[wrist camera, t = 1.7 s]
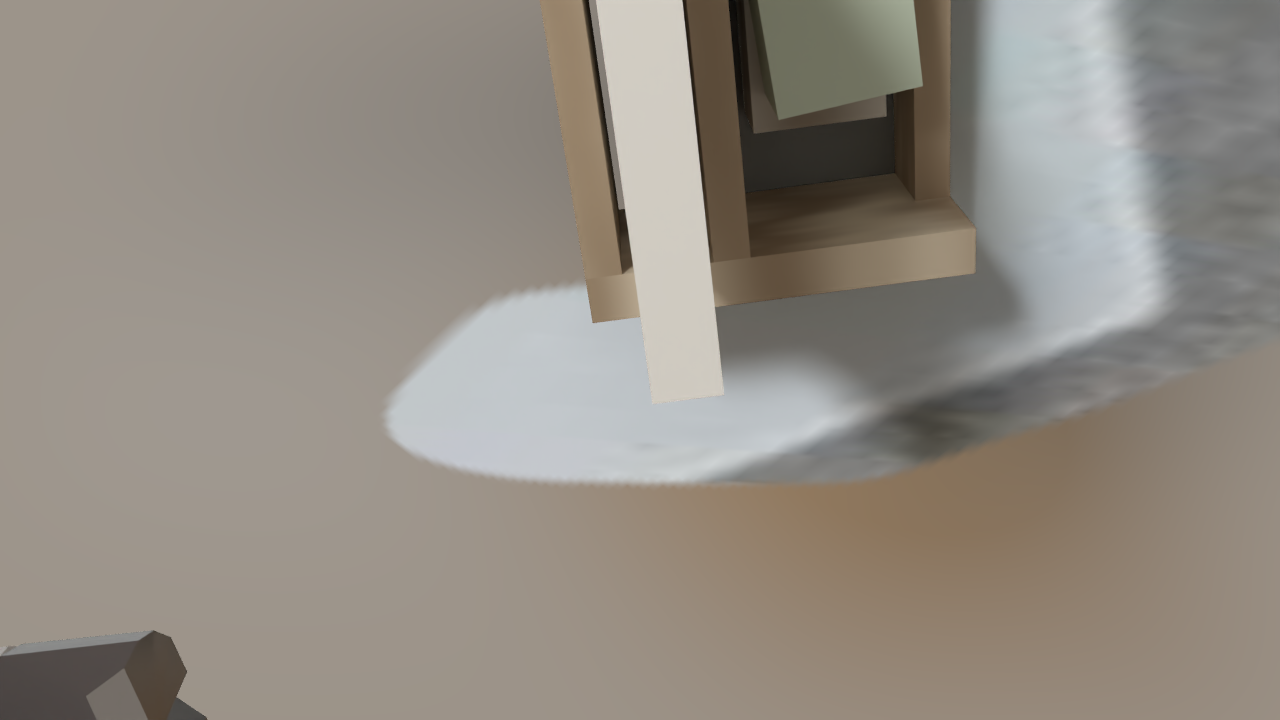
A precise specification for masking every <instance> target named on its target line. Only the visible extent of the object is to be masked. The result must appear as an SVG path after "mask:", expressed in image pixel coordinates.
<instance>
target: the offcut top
mask: <svg viewBox="0 0 1280 720" xmlns="http://www.w3.org/2000/svg"><path fill="white" fill-rule="evenodd" d="M748 1H749V6H750V12H751V18H752V23H753V29H754V34H755V40H756V46H757V51H758V57H759V63H760V68H761V74H762V79H763V85H764V91H765V95H766V97H767V99H768V101H769V103H770V105H771V107H772V109H773V110H774V112H775V114H776V116H777V118H778V120H781V119H785V118H789V117H794V116H798V115H802V114H806V113H811V112H815V111H819V110H823V109H828V108H832V107H836V106H841V105H845V104H849V103H853V102H858V101H862V100H866V99H870V98H875V97H879V96H883V95H887V94H892V93H896V92H900V91H904V90H909V89H913V88H917V87H921V86H923V82H922V73H921V64H920V55H919V46H918V37H917V28H916V19H915V10H914V0H748Z"/></svg>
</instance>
